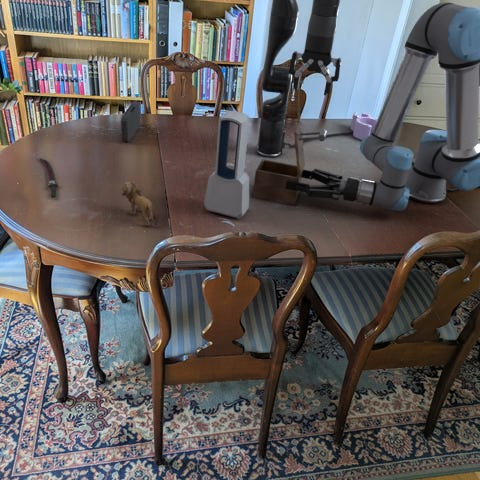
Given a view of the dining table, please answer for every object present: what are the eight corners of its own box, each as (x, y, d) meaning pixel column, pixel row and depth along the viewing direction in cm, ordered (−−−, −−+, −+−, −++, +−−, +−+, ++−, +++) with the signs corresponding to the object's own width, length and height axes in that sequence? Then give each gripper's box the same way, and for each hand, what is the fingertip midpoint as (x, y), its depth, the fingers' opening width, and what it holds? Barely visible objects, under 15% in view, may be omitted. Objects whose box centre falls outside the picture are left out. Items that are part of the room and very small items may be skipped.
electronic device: (248, 210, 145) (259, 115, 129) (241, 221, 139) (251, 123, 123) (211, 201, 148) (218, 107, 132) (202, 211, 142) (207, 114, 125)
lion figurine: (118, 210, 138) (116, 182, 133) (132, 204, 141) (131, 177, 137) (151, 229, 130) (150, 201, 126) (165, 223, 134) (165, 195, 129)
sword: (61, 197, 141) (61, 193, 140) (50, 198, 139) (50, 194, 139) (49, 160, 164) (48, 156, 163) (39, 160, 163) (39, 157, 162)
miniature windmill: (298, 130, 211) (309, 61, 195) (279, 127, 212) (289, 59, 196) (300, 124, 219) (311, 57, 203) (282, 121, 220) (292, 55, 204)
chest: (252, 197, 153) (255, 170, 148) (258, 184, 161) (262, 159, 156) (294, 205, 151) (299, 178, 146) (298, 192, 159) (303, 166, 154)
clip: (343, 126, 223) (346, 112, 219) (367, 127, 225) (371, 113, 221) (360, 142, 206) (364, 127, 202) (386, 142, 209) (390, 127, 205)
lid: (293, 132, 138) (323, 130, 136) (298, 122, 147) (326, 120, 144) (297, 177, 146) (326, 176, 143) (302, 165, 154) (329, 164, 151)
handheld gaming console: (134, 123, 200) (133, 100, 195) (140, 124, 200) (140, 100, 195) (121, 142, 181) (119, 117, 175) (128, 143, 181) (127, 118, 175)
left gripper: (293, 31, 126) (284, 91, 134) (346, 38, 123) (334, 99, 132) (297, 27, 132) (288, 85, 141) (347, 34, 130) (335, 93, 138)
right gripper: (353, 217, 141) (281, 203, 144) (356, 186, 160) (292, 174, 163) (359, 195, 137) (284, 181, 140) (361, 166, 155) (295, 154, 159)
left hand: (310, 92), depth 136 cm, fingers open, 8 cm apart
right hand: (288, 177), depth 152 cm, fingers closed on chest, 10 cm apart
